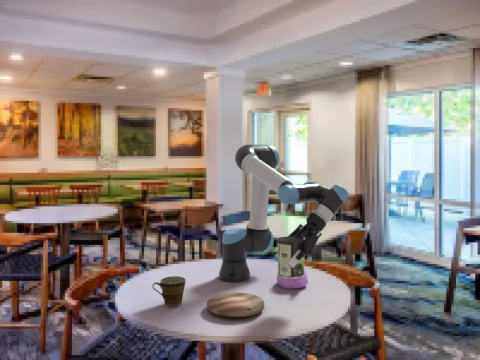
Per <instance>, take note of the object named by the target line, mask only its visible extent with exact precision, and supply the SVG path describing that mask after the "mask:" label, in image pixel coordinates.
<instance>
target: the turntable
mask: <svg viewBox="0 0 480 360" xmlns="http://www.w3.org/2000/svg"><path fill="white" fill-rule="evenodd" d="M206 309H207V311H209V312H211V313H212V314H214V315H217V316H220V317H227V318H244V317H248V316H249V317H250V316H253V315H256V314H258V313H261V312H262V311H263V310H264V309H265V301H264V299H263V298H262V297H260V296H258V295H255V294H251V293H246V292H225V293H219V294H216V295H213V296H211V297H210V298H208V299H207V301H206Z"/></svg>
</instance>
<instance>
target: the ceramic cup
mask: <svg viewBox="0 0 480 360" xmlns="http://www.w3.org/2000/svg"><path fill="white" fill-rule="evenodd" d="M155 285H158V286H159V287H160V289H161V291H162V292H160V291H159V290H158V289H156V288H155V287H154V286H155ZM151 287H152V290H154V291H156V293H158V294H159V295H161V297H162V298H163V301H164V306H165V307H166V306H167V307H166V308H170V307H172V308H178V307H180V306H182V304H183V297H184V291H185V287H186V278H185V277H183V276H166V277H163V278H161V279H160V281H159V282H153V284H152V286H151Z"/></svg>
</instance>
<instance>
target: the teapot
mask: <svg viewBox="0 0 480 360" xmlns="http://www.w3.org/2000/svg"><path fill="white" fill-rule="evenodd" d="M276 282H277V283H278V285H279V286H280V287H282V288H284V289H288V290H289V289H290V290H293V289H295V290H296V289H301V288H306V286H307V285H308V283H309V278H308V273H307V271H306V270H305V268H304V277H302V278H298V279H286V278H281V277H279V276H278V273H277V276H276Z"/></svg>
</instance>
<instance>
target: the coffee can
mask: <svg viewBox="0 0 480 360" xmlns="http://www.w3.org/2000/svg"><path fill="white" fill-rule="evenodd" d="M276 239H277V253H278V259H277V274H278V276H279V277H281V278H286V279H298V278H302V277H304V269H305V255H304V256H303V257H302V258H301V259H300V260H299V262H298V263H297V264H296V265H295V267H294V268H292V267H291V266H290V265H289V264H288V262H289V261H290V260H291V258H292V257H293V256H294V255H295V253H296V252H297V251H298V250H300V249H299V248H301V247H302V244H303V242H304V239H305V238H300V237H288V236H281V237H278V238H276ZM300 251H301V250H300Z"/></svg>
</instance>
